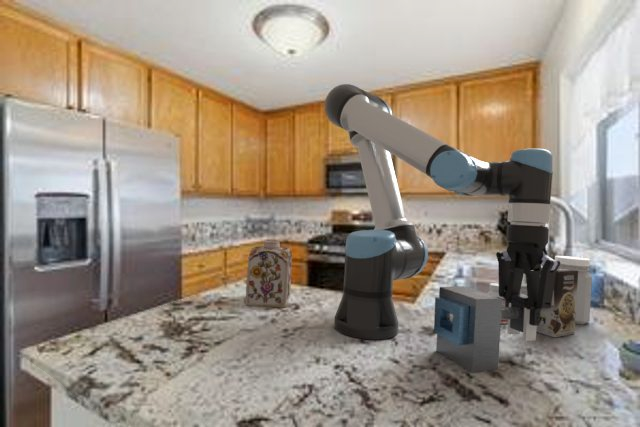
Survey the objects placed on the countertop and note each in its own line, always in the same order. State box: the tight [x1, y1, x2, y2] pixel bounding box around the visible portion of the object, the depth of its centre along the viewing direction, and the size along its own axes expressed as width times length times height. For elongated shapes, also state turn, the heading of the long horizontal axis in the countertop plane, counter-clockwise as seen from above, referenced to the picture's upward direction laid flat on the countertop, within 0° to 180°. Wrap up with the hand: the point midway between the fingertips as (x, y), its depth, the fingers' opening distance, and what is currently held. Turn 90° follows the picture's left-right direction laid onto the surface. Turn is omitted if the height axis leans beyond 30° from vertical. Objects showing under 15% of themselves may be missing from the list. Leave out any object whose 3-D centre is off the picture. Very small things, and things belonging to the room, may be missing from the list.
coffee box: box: [536, 266, 578, 338], centre depth 89 cm, size 9×6×16 cm
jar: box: [554, 255, 593, 325], centre depth 101 cm, size 10×10×18 cm
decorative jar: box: [245, 240, 293, 308], centre depth 103 cm, size 12×12×18 cm
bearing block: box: [435, 285, 502, 373], centre depth 68 cm, size 6×10×13 cm, turn 19°
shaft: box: [446, 293, 528, 333], centre depth 70 cm, size 20×3×7 cm, turn 109°
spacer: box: [433, 296, 469, 345], centre depth 67 cm, size 2×7×7 cm, turn 19°
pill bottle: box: [486, 282, 508, 325], centre depth 96 cm, size 6×6×10 cm
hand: (521, 336), depth 73 cm, fingers closed on shaft, 3 cm apart
